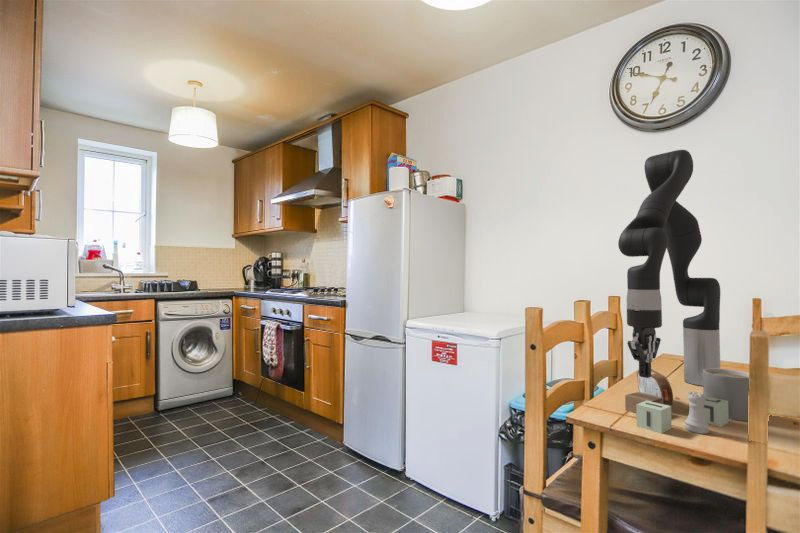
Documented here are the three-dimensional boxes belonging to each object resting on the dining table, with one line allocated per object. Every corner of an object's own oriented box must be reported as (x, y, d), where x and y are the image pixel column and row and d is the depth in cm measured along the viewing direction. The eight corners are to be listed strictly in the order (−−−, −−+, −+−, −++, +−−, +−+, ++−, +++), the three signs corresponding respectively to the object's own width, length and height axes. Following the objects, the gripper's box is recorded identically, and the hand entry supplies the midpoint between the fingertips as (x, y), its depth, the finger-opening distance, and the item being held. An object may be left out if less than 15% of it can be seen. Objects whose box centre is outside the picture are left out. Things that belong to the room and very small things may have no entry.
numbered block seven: (702, 416, 96) (702, 395, 96) (728, 422, 92) (728, 400, 92) (694, 420, 93) (693, 398, 93) (720, 427, 89) (720, 404, 89)
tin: (674, 413, 99) (673, 378, 99) (660, 412, 99) (660, 378, 99) (647, 395, 113) (646, 365, 114) (635, 394, 114) (634, 365, 114)
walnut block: (638, 407, 103) (638, 391, 104) (663, 414, 98) (663, 397, 98) (625, 411, 100) (625, 395, 101) (650, 418, 95) (650, 401, 95)
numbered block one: (647, 422, 92) (646, 399, 93) (671, 428, 88) (671, 405, 88) (636, 426, 90) (636, 403, 90) (661, 434, 85) (660, 410, 86)
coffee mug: (756, 424, 91) (754, 380, 91) (701, 414, 97) (700, 373, 98) (756, 409, 101) (755, 369, 101) (707, 401, 107) (706, 364, 108)
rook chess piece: (679, 427, 89) (678, 390, 89) (697, 426, 90) (697, 390, 90) (695, 434, 85) (694, 396, 85) (715, 434, 85) (714, 396, 85)
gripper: (640, 305, 107) (641, 370, 107) (615, 307, 100) (616, 377, 99) (671, 307, 101) (673, 376, 101) (647, 309, 94) (649, 384, 93)
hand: (645, 376), depth 100 cm, fingers closed
